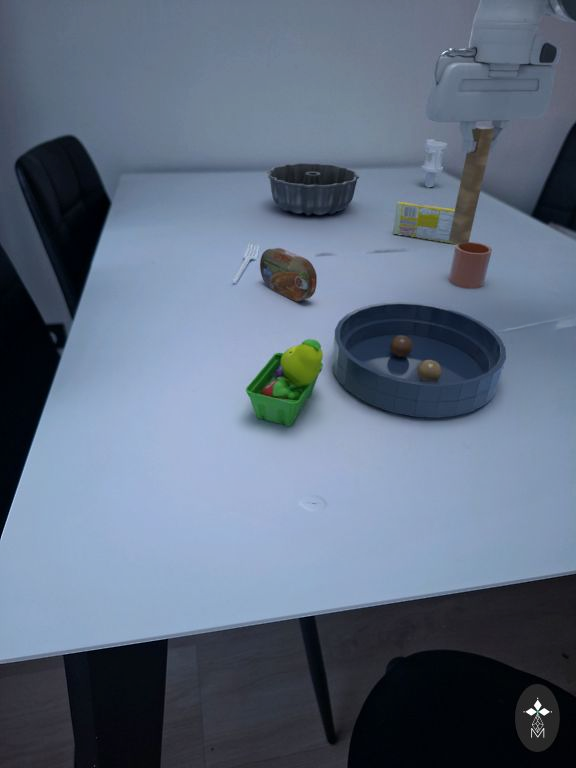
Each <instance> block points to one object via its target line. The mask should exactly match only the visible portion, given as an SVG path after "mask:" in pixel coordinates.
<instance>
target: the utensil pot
mask: <svg viewBox="0 0 576 768" xmlns="http://www.w3.org/2000/svg"><path fill="white" fill-rule="evenodd" d="M492 253H493V249H492V248H491V247H490V246H489V245H487V244H484V243H480V242H474V241H469V243H467V244H458V245H457V244H455V247H454V251H453V257H452V261H451V264H450V265H451V266H450V271H449V276H448V282H449V283H450V284H452V285H453V286H455V287H459V288H462V289H469V290H470V289H480V288H482V287H484V284H485V280H486V276H487V273H488V269H489V263H490V260H491V256H492Z"/></svg>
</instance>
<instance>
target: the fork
mask: <svg viewBox="0 0 576 768" xmlns="http://www.w3.org/2000/svg"><path fill="white" fill-rule="evenodd" d="M253 245H254V246H253ZM259 250H260V244H256V243H255V244H253V243H251V244H250V243H248V246H247V248H246V250H245V253H244V255H243V257H242V259H243V261H242V263H241V266H240V267H239V268H238V270H237V272H236V274H235V276H234V277H233V278H232V284H237V282H238V281H239V279H240V277H241V276H242V274H243V273H244V271H245V270H246V267H247V265H249V263H250V261H251V260H258V257H259V252H260V251H259Z"/></svg>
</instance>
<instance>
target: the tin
mask: <svg viewBox="0 0 576 768" xmlns="http://www.w3.org/2000/svg"><path fill="white" fill-rule="evenodd" d="M259 270H260V274H261V278H262V281H263V282H264V284H265V286H266V287H268V289H270V290H271V291H274V292H275V293H278V294H280V295H282V296H283V297H285V298H287V299H289V300H291V301H292V302H293V301H294V302H297V303H298V302H302V301H304V300H308V299H310V298H311V297H312V296H313V295H314V294H315V293H316V289H317V283H318V282H317V278H318V277H317V272H316V269H315V267H314V265H313V264H312V263H311V262H310V260H308V259H307V258H306V257H303V256H300V255H299V254H296V253H293V252H291V251H288V250H286V249H283V248H281V247H276V248H268V249H266V250H264V252H262V254H261V257H260V261H259Z"/></svg>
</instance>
